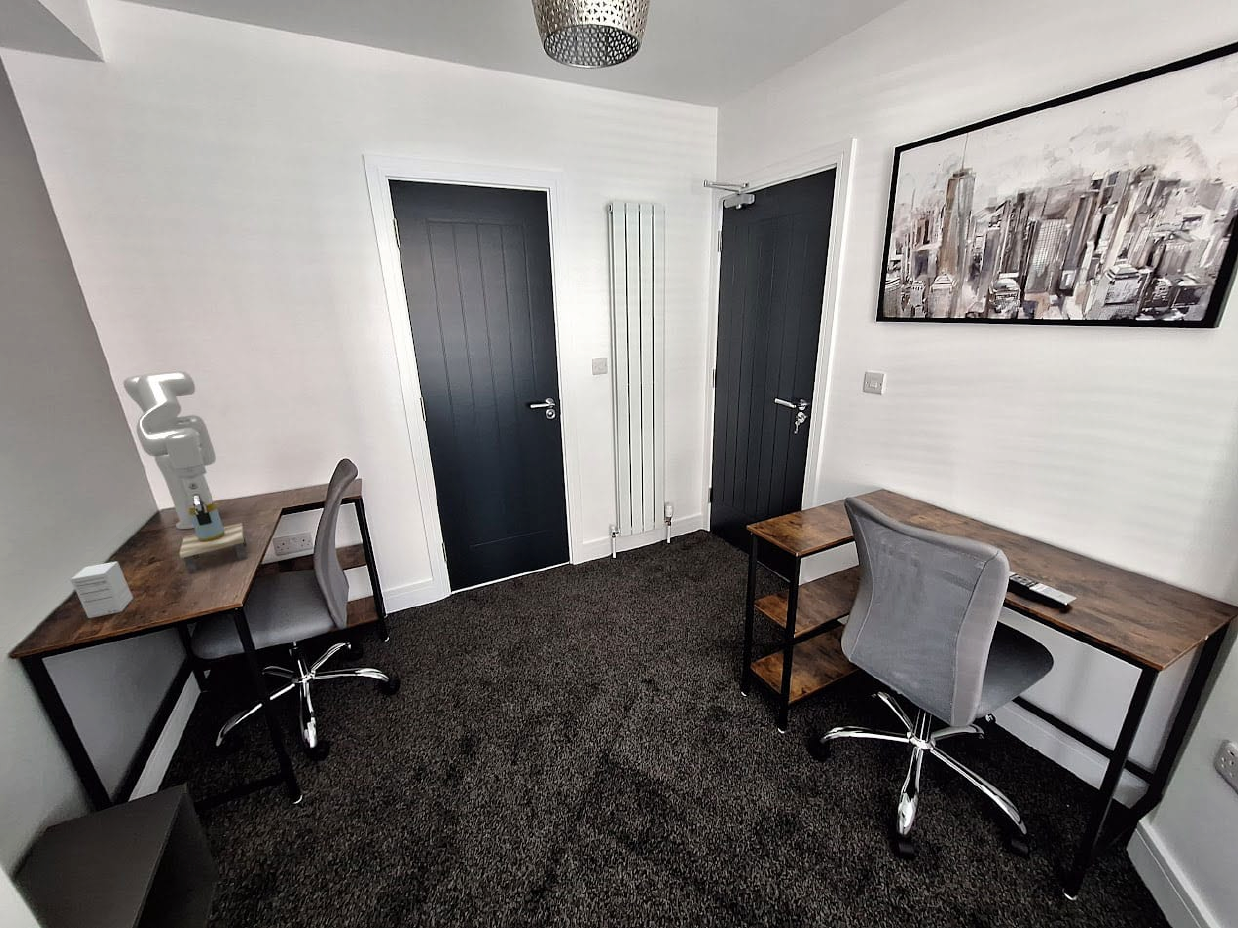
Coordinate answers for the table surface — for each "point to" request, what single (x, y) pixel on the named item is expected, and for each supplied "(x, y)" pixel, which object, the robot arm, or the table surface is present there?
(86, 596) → the supplement box
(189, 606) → the table surface
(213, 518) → the bottle
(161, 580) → the table surface
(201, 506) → the robot arm
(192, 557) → the footstool
